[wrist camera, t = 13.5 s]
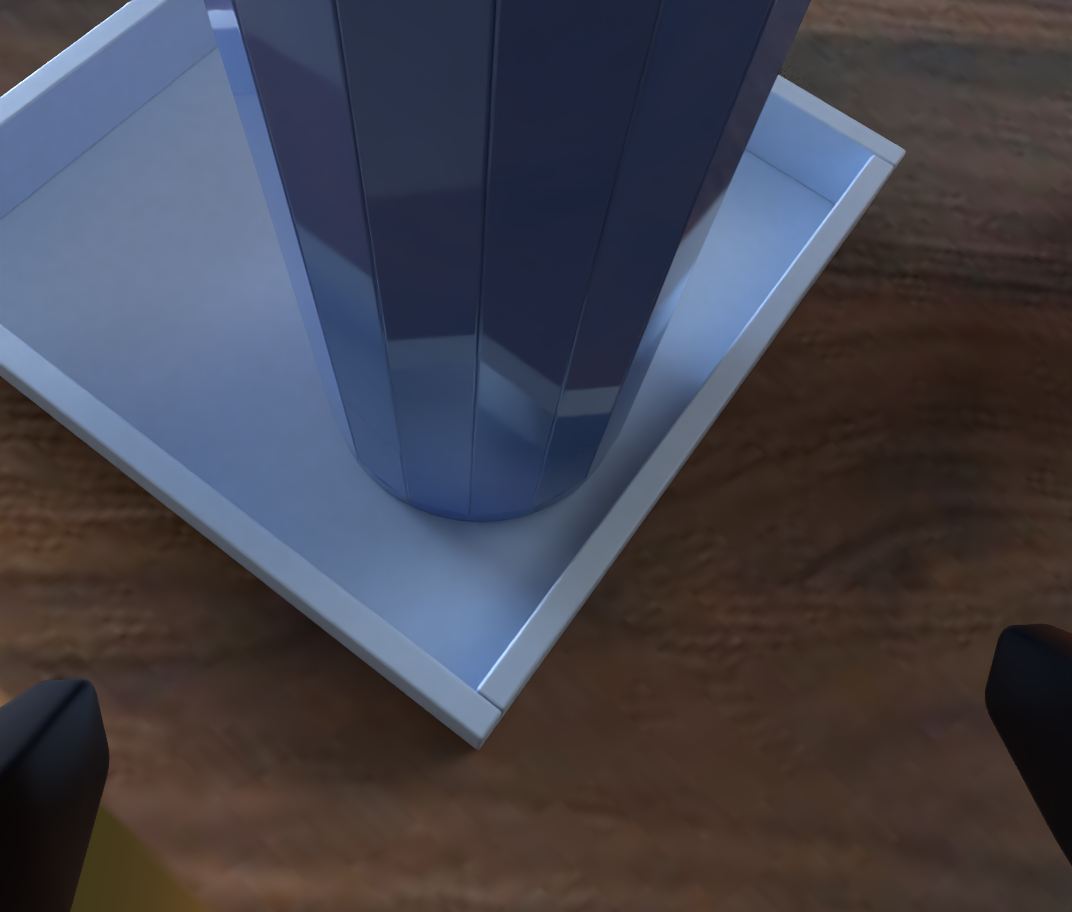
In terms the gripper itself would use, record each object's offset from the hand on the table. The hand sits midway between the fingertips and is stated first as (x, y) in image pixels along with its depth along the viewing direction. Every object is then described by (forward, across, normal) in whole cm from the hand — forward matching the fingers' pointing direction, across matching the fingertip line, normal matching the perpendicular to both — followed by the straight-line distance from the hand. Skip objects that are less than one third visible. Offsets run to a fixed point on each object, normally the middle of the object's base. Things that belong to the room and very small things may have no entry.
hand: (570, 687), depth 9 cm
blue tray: (+15, +2, -2) cm, 15 cm away
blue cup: (+12, 0, +1) cm, 12 cm away
